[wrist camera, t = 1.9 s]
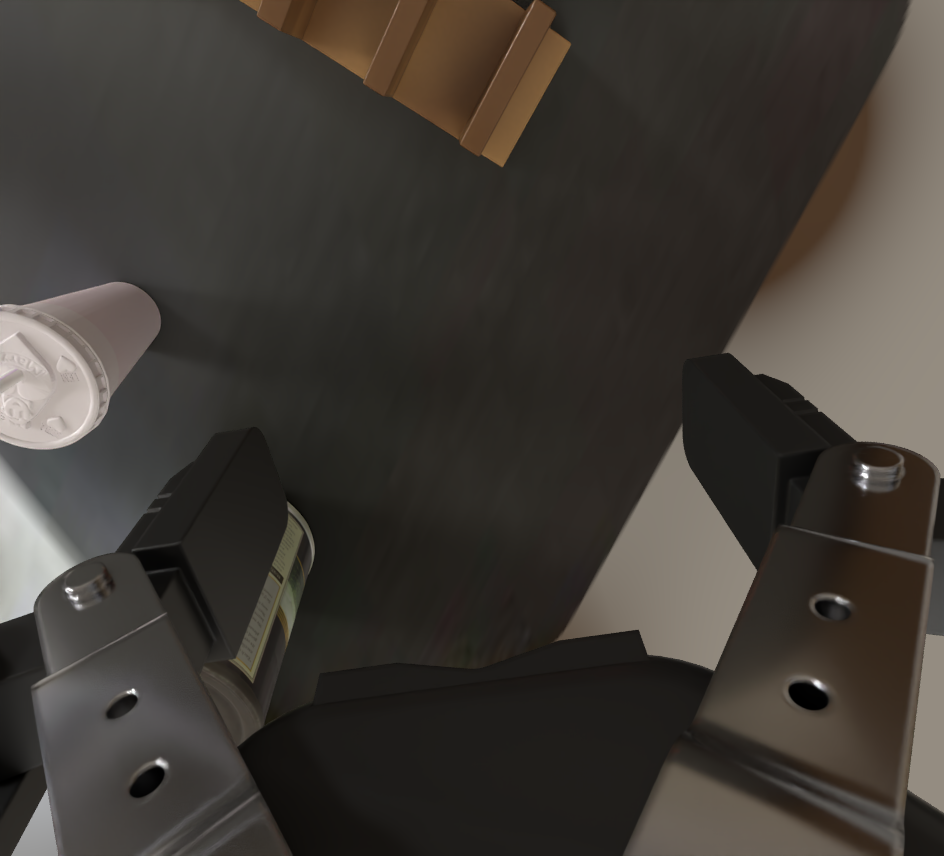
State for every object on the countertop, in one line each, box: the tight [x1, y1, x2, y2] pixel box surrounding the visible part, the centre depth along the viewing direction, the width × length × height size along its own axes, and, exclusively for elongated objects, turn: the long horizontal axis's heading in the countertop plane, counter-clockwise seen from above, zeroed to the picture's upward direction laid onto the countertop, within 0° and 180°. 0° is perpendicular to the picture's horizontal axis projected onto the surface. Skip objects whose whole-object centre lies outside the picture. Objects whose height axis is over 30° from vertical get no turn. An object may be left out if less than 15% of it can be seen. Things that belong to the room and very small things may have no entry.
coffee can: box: [200, 502, 315, 747], centre depth 36 cm, size 10×10×14 cm
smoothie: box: [0, 282, 161, 449], centre depth 28 cm, size 6×6×14 cm
